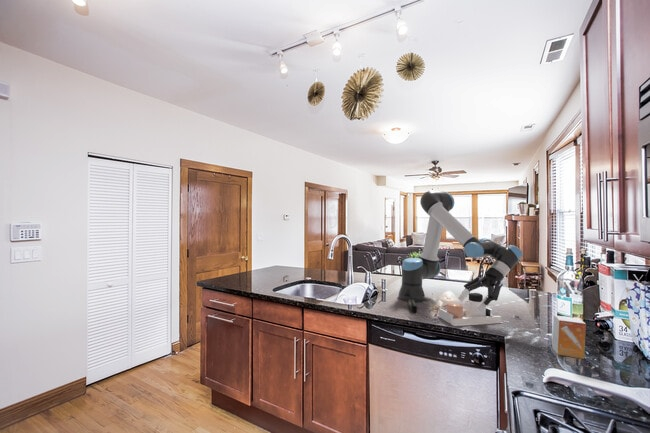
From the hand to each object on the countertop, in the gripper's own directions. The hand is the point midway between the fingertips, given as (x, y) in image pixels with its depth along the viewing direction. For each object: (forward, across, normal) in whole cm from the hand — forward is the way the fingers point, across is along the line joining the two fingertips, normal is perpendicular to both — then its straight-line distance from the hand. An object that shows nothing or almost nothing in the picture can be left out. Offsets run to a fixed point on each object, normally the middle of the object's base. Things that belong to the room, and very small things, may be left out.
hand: (468, 304), depth 145 cm
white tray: (+5, 0, -6) cm, 8 cm away
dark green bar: (+20, +19, +8) cm, 28 cm away
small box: (-4, -36, -16) cm, 40 cm away
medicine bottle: (+2, 0, -8) cm, 8 cm away
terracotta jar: (+10, 0, 0) cm, 10 cm away
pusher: (-3, 0, -12) cm, 13 cm away
